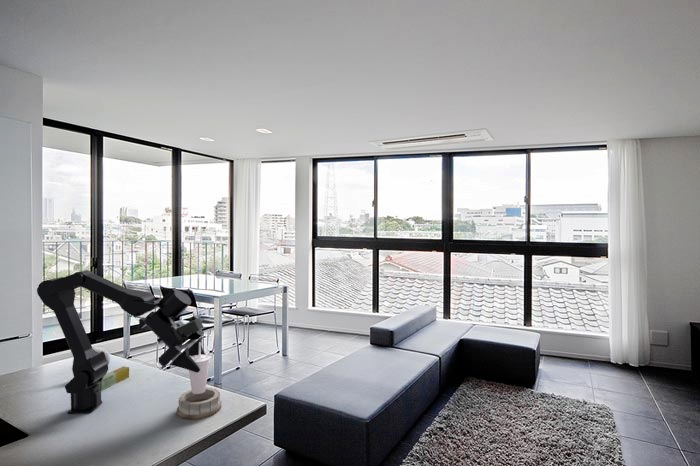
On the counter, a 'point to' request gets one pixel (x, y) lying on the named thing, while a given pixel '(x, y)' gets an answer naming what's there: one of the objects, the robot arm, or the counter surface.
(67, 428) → the counter surface
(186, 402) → the stone fire pit
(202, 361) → the smoothie
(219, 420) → the counter surface
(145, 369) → the counter surface
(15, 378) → the counter surface
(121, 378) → the medication box
